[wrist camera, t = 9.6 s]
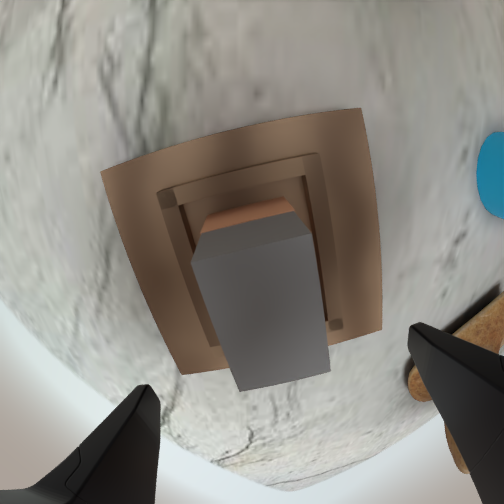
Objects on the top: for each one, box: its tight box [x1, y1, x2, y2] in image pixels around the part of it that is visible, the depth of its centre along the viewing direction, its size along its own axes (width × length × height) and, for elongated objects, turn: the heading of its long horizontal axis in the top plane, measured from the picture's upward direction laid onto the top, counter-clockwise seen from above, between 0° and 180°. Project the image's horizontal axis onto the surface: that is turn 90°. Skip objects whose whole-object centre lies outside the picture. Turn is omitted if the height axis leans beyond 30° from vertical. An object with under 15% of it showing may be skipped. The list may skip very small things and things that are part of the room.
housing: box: [191, 196, 331, 392], centre depth 15 cm, size 7×4×7 cm, turn 14°
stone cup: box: [408, 291, 504, 474], centre depth 19 cm, size 15×12×15 cm
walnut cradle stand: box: [100, 108, 382, 375], centre depth 19 cm, size 16×16×4 cm
